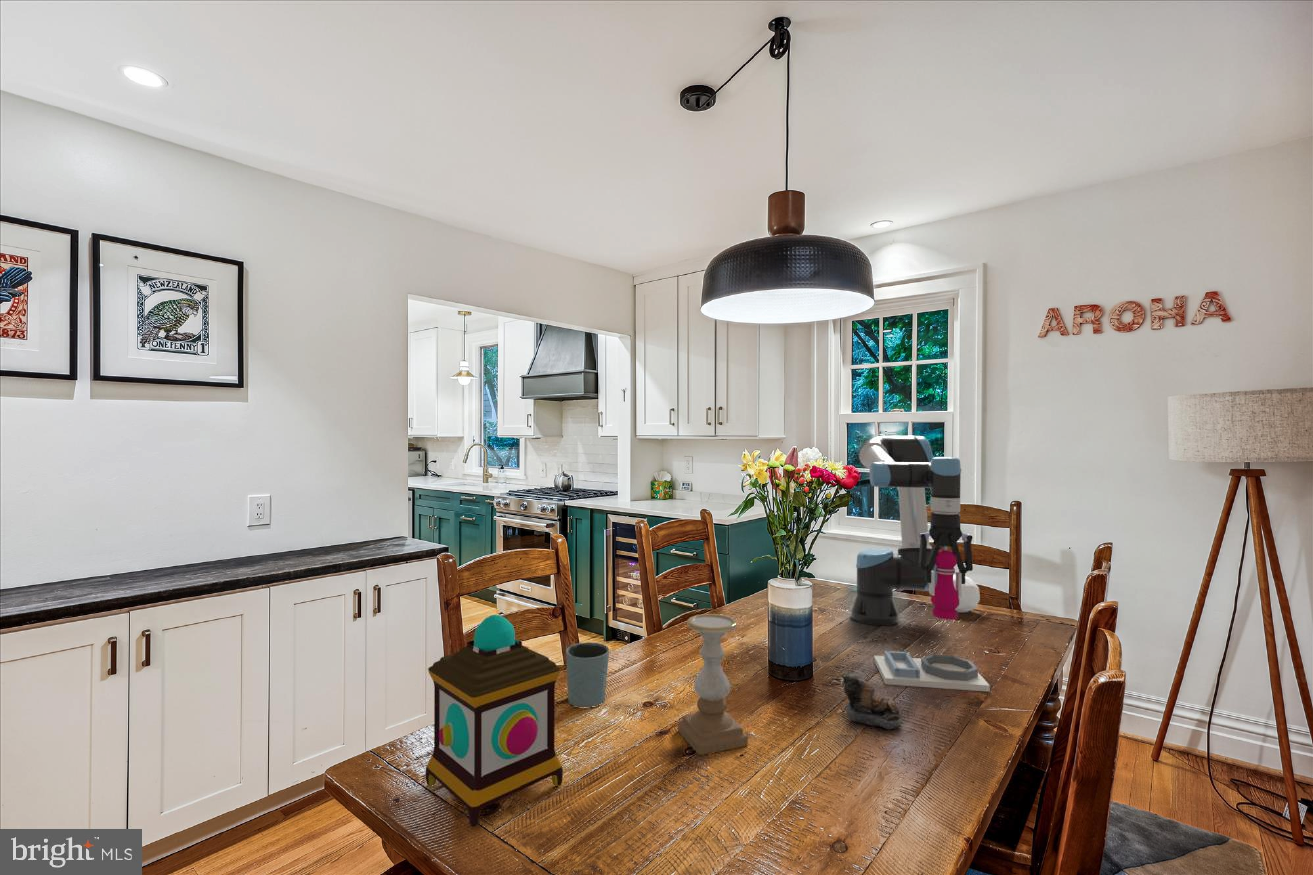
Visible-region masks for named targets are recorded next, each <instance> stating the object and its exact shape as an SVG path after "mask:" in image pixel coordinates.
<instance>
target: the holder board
mask: <svg viewBox="0 0 1313 875" xmlns="http://www.w3.org/2000/svg"><path fill="white" fill-rule="evenodd" d="M873 661H874V662H873V663H874V664H875V666H876V668H877V670H878V672H879V674H880V676H881V678H882V680H883V682H884V684H885V685H893V686H905V687H916V688H917V687H918V688H919V687H920V688H930V689H931V688H932V689H933V688H935V689H947V690H961V691H974V692H975V691H976V692H987V693H989V692H991V687H990V686H991V685H990V684H989V683H988V682H987V681H986V680H985V678H984V677H983V676H982V675H981V674H980V673H979V668H978V667H977V666H976V664H975V663H974V662H973V661H972V660H969V659H966V658H965V659H964V658H961V657H960V656H959V657H958V656H956V655H950V654H934V653H931V654H929V655H925V656H922V657H921V658H920V657H919V658H918V657H917V658H916V657H912V656H911V654H910V652H908V651H893V650H885V651H884V655H873Z"/></svg>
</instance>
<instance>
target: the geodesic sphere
mask: <svg viewBox="0 0 1313 875" xmlns="http://www.w3.org/2000/svg"><path fill="white" fill-rule="evenodd" d="M953 583H954V587H955V590H956V573H955V574H953ZM980 601H981V596H980V588H979V586H978V585H977V583H975V582H974V580H973V579H972V578H970V577H968V576H966V575H965V584H962V597H959V606H958V607H957V608H956V609H955V610H957V614H958V613H959V614H960V613H961V614H962V613H968V612H969V611H973V610H974V609H976V608H977V607H978V604H979V602H980Z"/></svg>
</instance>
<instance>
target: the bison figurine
mask: <svg viewBox="0 0 1313 875" xmlns="http://www.w3.org/2000/svg"><path fill="white" fill-rule="evenodd" d="M842 679H843V680H842V683H844V686H843V690H844V693H845V694H846V697H847V699H848V701H849V702H847V703H846V705H845V713H846V717H847V718H849V719H850V720H851V721H854V722H858V723H861V724H865V725H868V726H873V727H874V726H875V727H879V728H884V729H886V730H893V729H894V728H896V727H898V726H900V725H902V723H903V718H902V717H901V716H900V712H901V711H900V709H899V707H898V704H897V703H896V702H895V701H894V700H893V699H892V698H891V697H888V696H885V695H884V694H882V693H881V692H880V691H878V690H877V689H876V688H875V687H874V686H873V685H872V684H871V683H870V682H868V681H865V679H862V678H861V679H859V677H858V676H857V675H855V674H853V673H848V674H846V675H844V674H843V675H842Z"/></svg>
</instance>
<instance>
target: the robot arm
mask: <svg viewBox="0 0 1313 875" xmlns="http://www.w3.org/2000/svg"><path fill="white" fill-rule="evenodd" d="M857 455H858V459H859V462H860V463H861V464H862V465H863V466H864V467H865V468H867V469H868V470H869V481H870V482H869V483H870V485H871V486H872V487H874V488H875V487H877V488H883V489H885V488H897V489H898V490H897V491H898V506H899V520H900V531H901V545H900V546H899V548H897V553H895V554H894V552H893V550H892V549H890V548H873V549H872V548H871V549H865V550H862V551H860V552H858V554H857V556H856V565H855V568H856V596H855V598H854V602H853V605H852V606H851V610H850V612H851V613H850V615H851V616H850V617H851V619H852V620H854V621H856V622H858V623H863V624H866V625H867V624H868V625H875V626H892V625H894V624H898V623H899V613H898V610H897V606H896V602H895V600H894V593H893V592H894V590H906V591H909V590H910V591H921V592H924V591H928V593H929V594H930V596H931V595H932V596H935V586H936V583H937V573H936V572H935V570H936V569H935V567H937V566H936V564H935V560H936V557H937V554H938V551H940V549H942V546H948V547H950V549H951V552H953V553H954V554H955V555H956V558H957V564H956V566H957V568H958V570H955V574H956V592H957V594H958V597H962V584H965V576H966V574H967V573H968V572H969V571H970V572H972V571H973V570H974V567H973V564H974V563H973V556H972V552H973V551H972V541H973V535H971V534H969V533H964V532H963V531H962V529H961V514H960V512H961V481H962V480H961V473H962V468H961V461H960V458H958V457H953V456H935V457H934V456H933V451H932V446H931V444H930V441H929V440H928V439H927V437H925V436H922V435H921V436H920V435H914V434H913V435H879V436H875V437H872V438H869V439H868V440H866V441H864V442H863V443H862V444H861V445H860V447H859V449H858V454H857ZM925 489H930V510H931V511H932V512H931V513H930V528H929V523H928V514H927V513H928V511H927V502H926V490H925ZM930 538H931V539H932V540H933V543H932V545H930ZM960 539H961V540H962V541H963V554H964V555H963V556H964V561H963V557H962V556H961V553H960V550H959V545H958V541H959V540H960Z"/></svg>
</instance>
